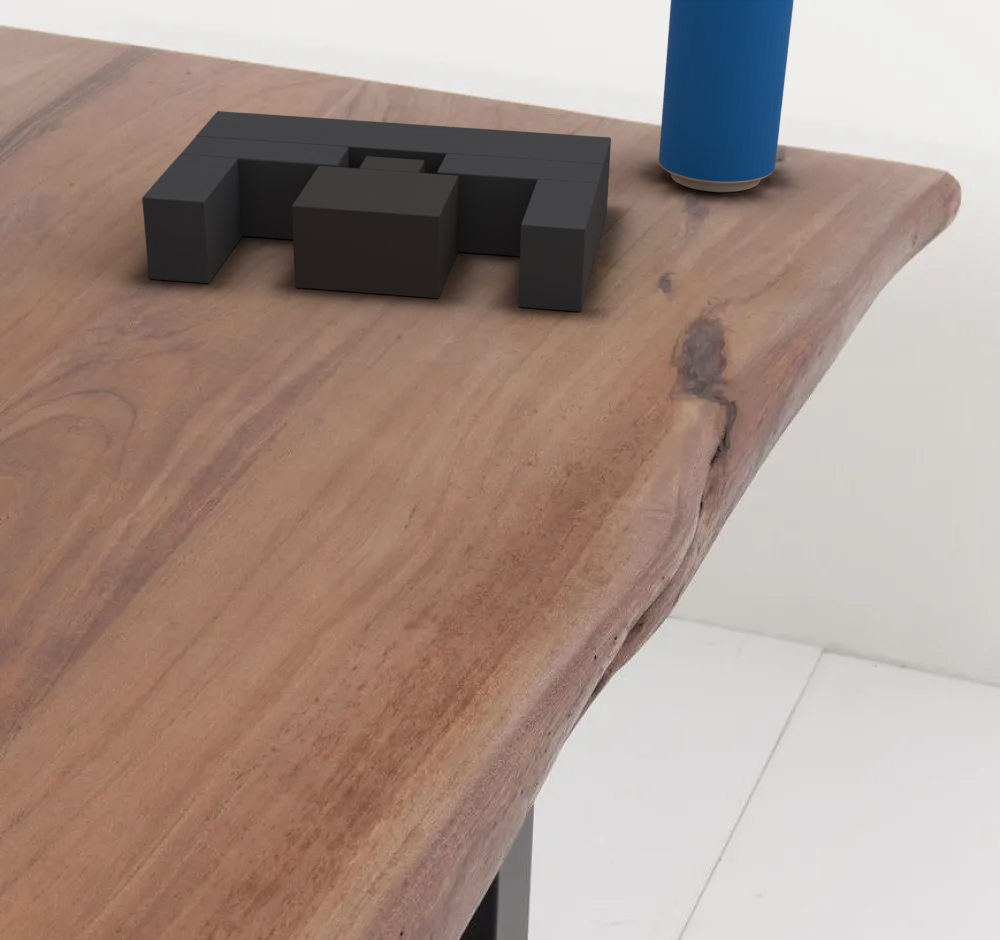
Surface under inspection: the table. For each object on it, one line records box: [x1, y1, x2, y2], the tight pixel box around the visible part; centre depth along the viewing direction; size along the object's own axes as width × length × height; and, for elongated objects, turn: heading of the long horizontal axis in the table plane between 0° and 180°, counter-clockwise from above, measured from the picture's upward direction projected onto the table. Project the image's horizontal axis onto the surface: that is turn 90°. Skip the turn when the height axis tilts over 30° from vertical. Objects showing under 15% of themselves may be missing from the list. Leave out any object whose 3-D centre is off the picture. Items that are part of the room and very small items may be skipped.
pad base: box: [141, 110, 612, 312], centre depth 94 cm, size 21×14×4 cm, turn 82°
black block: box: [292, 156, 458, 299], centre depth 92 cm, size 7×8×4 cm
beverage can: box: [658, 0, 795, 193], centre depth 102 cm, size 6×6×12 cm
